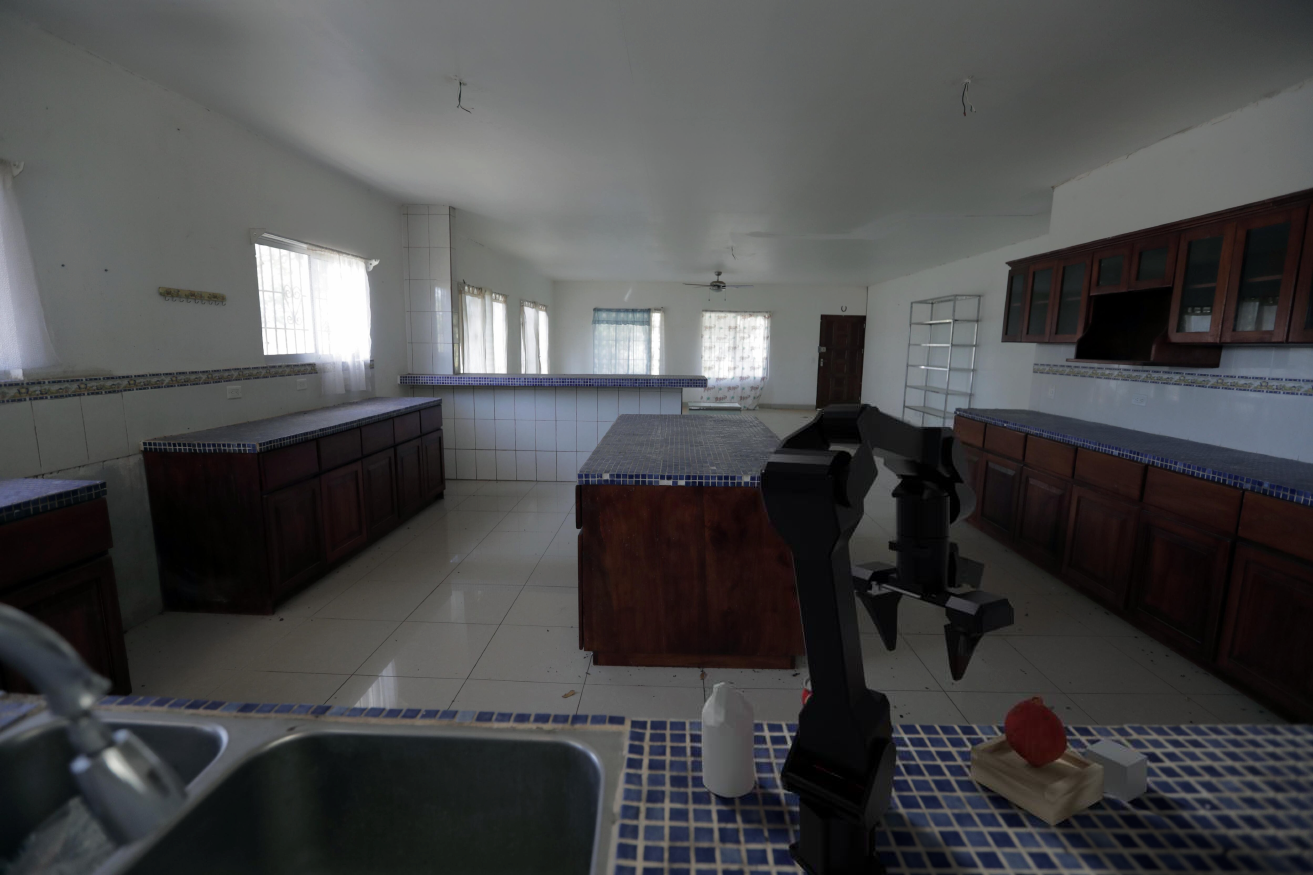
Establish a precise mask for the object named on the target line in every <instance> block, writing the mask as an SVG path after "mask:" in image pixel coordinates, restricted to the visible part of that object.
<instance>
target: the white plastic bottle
mask: <svg viewBox="0 0 1313 875" xmlns="http://www.w3.org/2000/svg"><path fill="white" fill-rule="evenodd" d="M712 690H713V692H711V696H709V698H708V699H707V700H706V702H704V703H705V704H704V706H703V709H702V711H701V764H702V766H701V767H702V784H703V785H704V787H705V788H706V789H707V790H709V791H710V792H711V793H714V795H718V796H720V797H724V798H739V797H743V796H746V795H747V794H749V793H751V791H753V789H754V788H755V712H754V711H755V710H754V707H753V705H752V703H750V702H749V701H748V699H746V698H745V696H744V695H743V694H742V693H741V692H740V691H738V690H736V688H735V687H731V686H729V685H727V683H725V682H720V683H716V684H714V685H713V688H712Z"/></svg>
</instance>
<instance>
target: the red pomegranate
mask: <svg viewBox="0 0 1313 875" xmlns="http://www.w3.org/2000/svg"><path fill="white" fill-rule="evenodd" d="M1003 725H1004V734H1005V737H1006V739H1007V741H1008V743H1009V745H1010V746H1011V747H1012V748H1013V749H1014V750H1015V751H1016V753H1017V754H1018V755H1019V756H1021V757H1022V758H1023V759H1025V760H1026V761H1027V762H1029V763H1030V764H1031V765H1033V766H1034V767H1041V766H1043V765H1045V764H1048V763H1051V762H1054V761H1056V760H1058V759H1059V758H1060V757H1061V756H1062V755H1063V753H1064V752H1065V750H1066V749H1067V748H1068V746H1067V745H1068V737H1067V733H1066V730H1065V727H1064V724H1063V723H1062V721H1061V719H1060V718H1059V717H1058V716H1057V715H1056V714H1055V712H1054V711H1053V710H1051V709H1050V708H1049V707H1048V706H1046V705H1045V704H1044V699H1043V696H1041V695H1039V694H1036V695H1033V696H1031V697H1030V698H1029V699H1026V700H1023V701H1022V700H1021V701H1020V702H1018V703H1017V704H1015V705H1014V706H1013V707H1011V709H1010V710H1009V711H1008V712H1007V714H1006V716H1005V719H1004V723H1003Z"/></svg>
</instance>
